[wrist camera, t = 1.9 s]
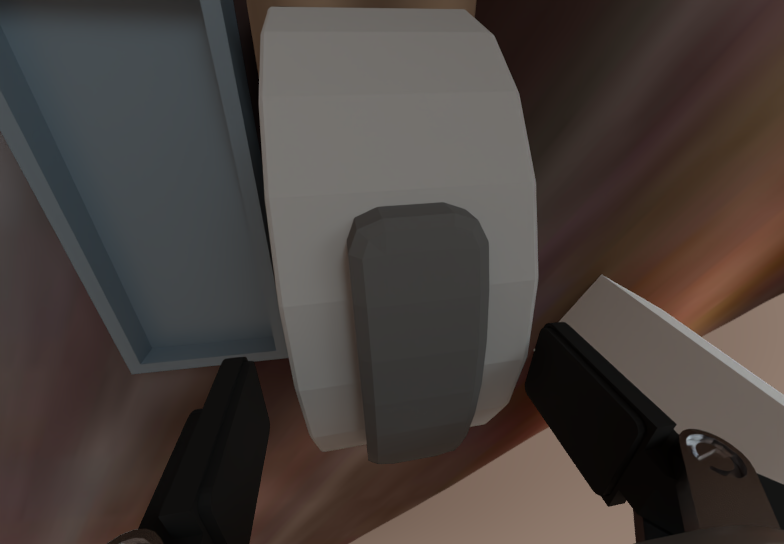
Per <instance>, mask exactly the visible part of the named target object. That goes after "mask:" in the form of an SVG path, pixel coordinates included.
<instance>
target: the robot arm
mask: <svg viewBox="0 0 784 544" xmlns="http://www.w3.org/2000/svg"><path fill="white" fill-rule="evenodd" d="M525 390H526V393H527V395H528V396H529V398H530V399H531V401H532V402H533V404H534V405H535V407H536V408H537V410H538V411H539V412H540V414H541V415H542V417H543V418H544V420H545V421H546V423H547V424H548V426H549V427H550V429H551V430H552V431H553V433H554V434H555V436H556V437H557V439H558V440H559V442H560V443H561V445H562V446H563V448H564V449H565V451H566V452H567V453H568V455H569V456H570V458H571V459H572V461H573V462H574V464H575V465H576V467H577V468H578V470H579V471H580V473H581V474H582V475H583V477H584V478H585V480H586V481H587V483H588V484H589V486H590V487H591V489H592V490H593V491H594V492H595V493H596V494H598V495H600V496H601V497H602V498H603V500H604V501H605V503H606V504H607V506H613V505H618V504H623V503H625V502H626V500H627V501H628V503H629V504H630V505H631V507H632V508H633V512H634V525H635V536H636V543H635V544H784V484H781V483H779V482H777V481H774V480H772V479H770V478H767V477H765V476H763V475H760V474H758V473H756V471H755V469H754V467H753V466H752V464H751V462H750V461H749V460H748V459H747V458H746V457H745V456H744V455H743V453H742V452H740V451H739V450H738V449H737V448H735V447H734V446H733V445H732V444H730V443H728V442H727V441H725V440H723V439H722V438H720V437H718V436H716V435H714V434H711V433H709V432H706V431H702V430H699V429H686V430H683V431H682V432H681V433H680V434H678V433H677V432H676V431H675V430H674V428H675V426H676V425H677V424H676V423H675V422H674V421H673V420H672V419H671V418H669V417H668V416H667V415H666V414H665V413H664V412H663V411H662V410H661V409H660V408H659V407H658V406H656V405H655V404H654V403H653V402H652V401H651V400H650V399H649V398H648V397H647V396H646V395H644V394H643V393H642V392H641V391H640V390H639V389H638V388H637V387H636V386H635V385H634V384H633V383H631V382H630V381H629V380H628V379H627V378H626V377H625V376H624V375H623V374H622V373H621V372H619V371H618V370H617V369H616V368H615V367H614V366H613V365H612V364H611V363H610V362H609V361H608V360H606V359H605V358H604V357H603V356H602V355H601V354H600V353H599V352H598V351H597V350H596V349H594V348H593V347H592V346H591V345H590V344H589V343H588V342H587V341H586V340H585V339H584V338H583V337H581V336H580V335H579V334H578V333H577V332H576V331H575V330H574V329H573V328H572V327H571V326H569V325H568V324H567V323H566V322H556V323H548V324H546V325H545V326H544V328H542V329H541V331H540V334H539V337H538V340H537V344H536V347H535V351H534V354H533V358H532V361H531V365H530V368H529V371H528V375H527V378H526V382H525ZM269 431H270V422H269V417H268V413H267V409H266V406H265V402H264V398H263V394H262V390H261V386H260V382H259V379H258V375H257V371H256V367H255V364H254V361H248V360H247V358H246V357H236V358H227V359H224V360H223V361H222V363H221V366H220V368H219V371H218V373H217V375H216V378H215V380H214V383H213V385H212V388H211V390H210V392H209V395H208V397H207V400H206V402H205V404H204V407H203V409H197V410H194V411H193V412H192V413H191V414H190V415H189V417H188V419H187V421H186V423H185V426H184V428H183V430H182V432H181V435H180V437H179V439H178V441H177V443H176V446H175V448H174V450H173V452H172V455H171V457H170V459H169V461H168V463H167V466H166V468H165V470H164V472H163V475H162V477H161V479H160V481H159V484H158V486H157V488H156V490H155V492H154V495H153V497H152V499H151V501H150V504H149V506H148V508H147V510H146V513H145V515H144V517H143V519H142V521H141V524H140V526H139V528H138V529H136V530H132V531H129V532H127V533H124V534H122V535H119V536H118V537H116V538H115V539H113V540H112V541H110V542H108V543H107V544H249V542H250V537H251V531H252V526H253V520H254V514H255V509H256V503H257V498H258V492H259V487H260V481H261V476H262V470H263V465H264V459H265V454H266V448H267V443H268V437H269Z"/></svg>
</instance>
